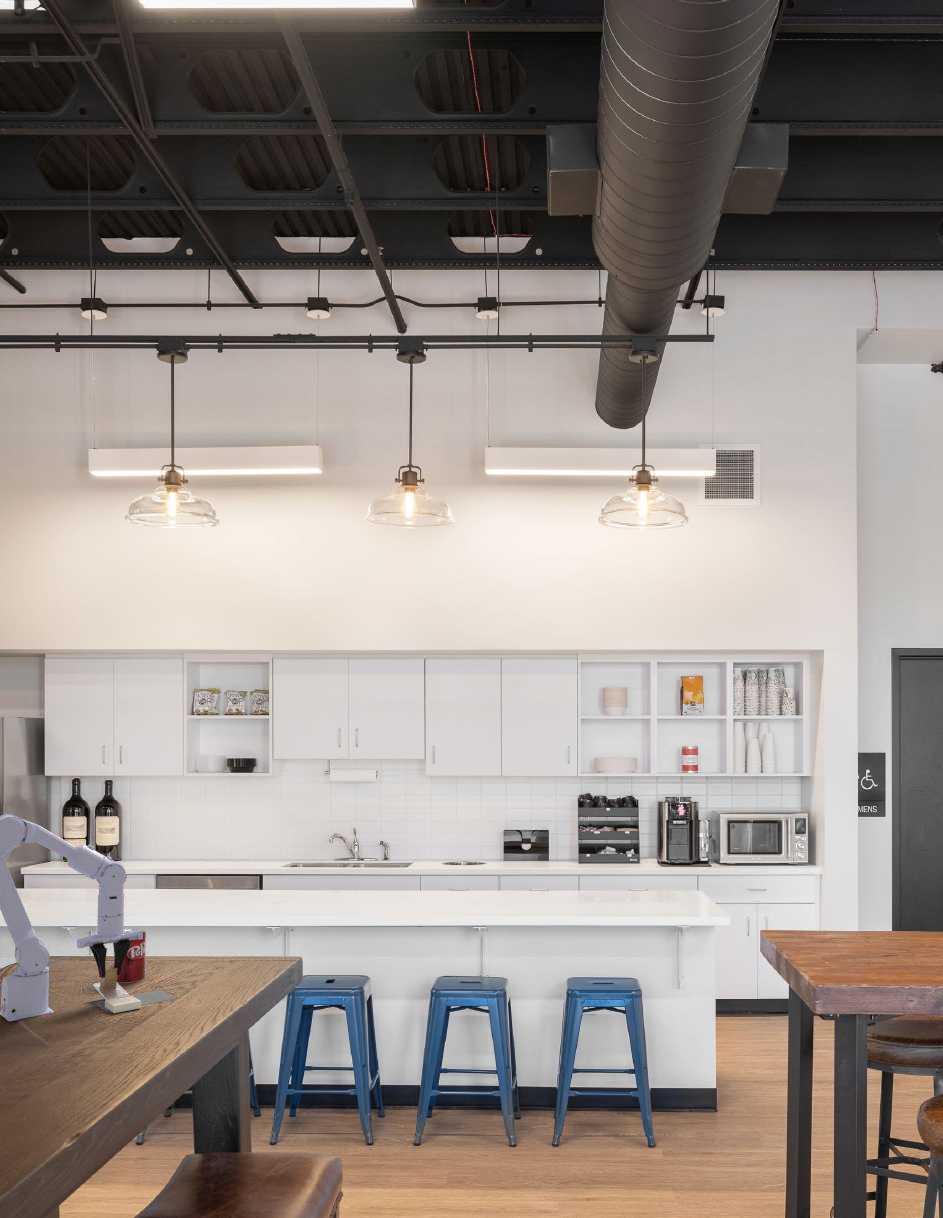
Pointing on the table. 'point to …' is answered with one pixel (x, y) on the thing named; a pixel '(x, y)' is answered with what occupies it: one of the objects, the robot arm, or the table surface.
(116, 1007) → the tile
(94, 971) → the table surface
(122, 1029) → the table surface
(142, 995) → the mat
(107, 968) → the trowel
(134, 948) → the soda can
